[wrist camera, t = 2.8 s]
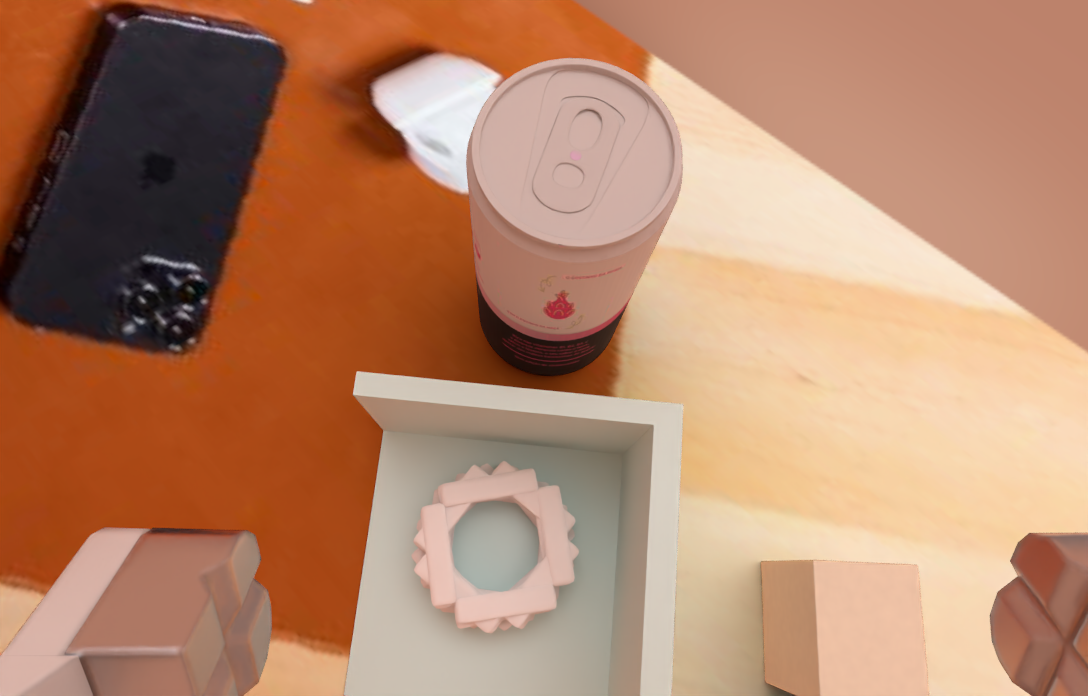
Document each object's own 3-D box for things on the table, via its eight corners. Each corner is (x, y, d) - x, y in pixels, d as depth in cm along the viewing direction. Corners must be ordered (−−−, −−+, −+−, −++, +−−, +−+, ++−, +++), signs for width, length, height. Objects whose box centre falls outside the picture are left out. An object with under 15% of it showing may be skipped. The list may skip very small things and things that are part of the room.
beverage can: (633, 274, 38) (714, 93, 23) (590, 397, 36) (650, 283, 22) (507, 230, 38) (511, 25, 24) (459, 350, 36) (431, 207, 22)
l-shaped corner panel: (386, 411, 35) (356, 371, 28) (646, 437, 36) (683, 404, 28) (343, 695, 32) (297, 732, 25) (631, 721, 32) (668, 765, 25)
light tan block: (764, 682, 33) (820, 707, 27) (760, 561, 34) (812, 559, 29) (856, 686, 33) (931, 711, 27) (848, 565, 34) (918, 564, 29)
